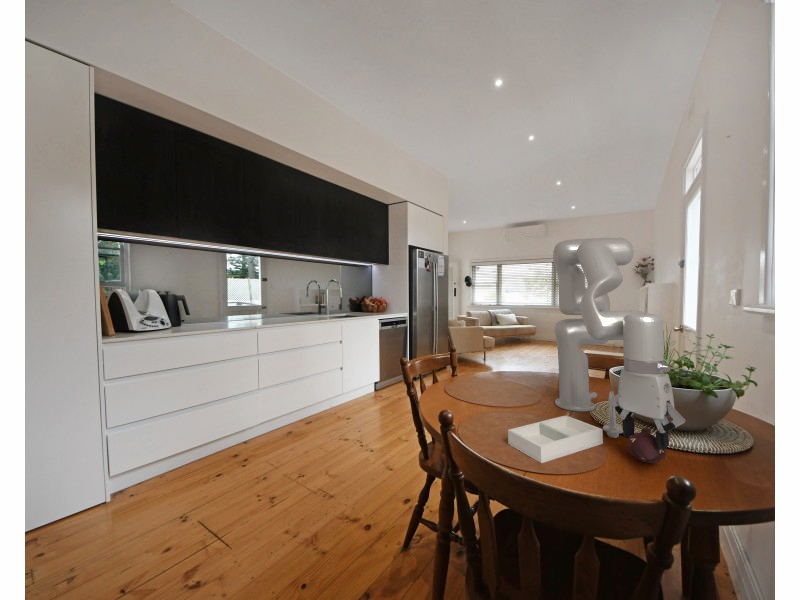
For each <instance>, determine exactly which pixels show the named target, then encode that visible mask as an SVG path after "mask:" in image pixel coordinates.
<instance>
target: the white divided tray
mask: <svg viewBox="0 0 800 600" xmlns="http://www.w3.org/2000/svg"><path fill="white" fill-rule="evenodd" d="M603 431H604V430H603V428H600V427H597V426H595V425H592V424H590V423H588V422H584V421H582V420H579V419H577V418H574V417H571V416H569V415H562V416H558V417H553V418H548V419H546V420H541V421H538V422H537V421H536V422H534V423H529V424H526V425H525V424H524V425H522V426H518V427H514V428H510V429H507V440H508V441H507V442H508V443H507V444H508V445H509V444H510V445H509V446H510V447H513V448H515V449H516V450H518V451H519V450H520V451H519V452H522V453H523V454H524V455H526V456H528V457H530V458H532V459H533V460H535V461H537V462H538V463H540V464H544V463H547V462H551V461H553V460H557V459H559V458H562V457H566V456H569V455H572V454H575V453H577V452H581V451H584V450H588V449H590V448H594V447H597V446H600V445H603V444H604V441H603V440H604V438H603V437H604V436H603Z"/></svg>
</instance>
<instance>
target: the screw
mask: <svg viewBox="0 0 800 600" xmlns="http://www.w3.org/2000/svg"><path fill="white" fill-rule="evenodd" d="M614 396H615V394H614V391H613V390H611V391H609V394H608V401H607V404H608V405H607V406H608V407H607V410H608V424H605V425H603V426H602V431H605V432H606V436H608V437H609V438H613V439H617V438H619V437H620V436H619V434H622V433H623V428H622V427H620V426H618V425H617V417H616V416H617V415H616V414H617V411H616V410H615V407H614V406H613V405H612V403H611V402H610V399H611V398H612V397H614Z"/></svg>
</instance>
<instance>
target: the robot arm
mask: <svg viewBox="0 0 800 600" xmlns="http://www.w3.org/2000/svg"><path fill="white" fill-rule="evenodd" d="M552 253H553V254H552V259H553V265H554V268H555V270H556V273H557V279H558V287H557V288H558V309H559V311H560V313H562V314H564V315H567V316H581V318H565V319H561V320H559V321H557V322H556V323H555V325H554V331H553V332H554V335H555V341H556V347H557V360H558V387H559V391H558V392H559V398H556V399H555V401H554V404H555V405H556V407H558V408H560V409H563V410H567V411H571V412H590V411H594V409H595V408H596V407H595V404H594V403H593V402H592V400H593V399H595V398H597V397H598V393H596V392H594V391H593V392H590V379H589V376H590V375H589V359H588V355H587V354H586V352H584V350H583V349H582V348H581V346H597V345H600V346H601V345H604V344H606V343H608V341H623V368H622V369H621V370H620V374H619V379H618V386H617V387H618V389H617V394H614V397H612V398H611V399H610V402H611V403H612V405H613V406H614V407H615V411H616V413H617V414H618V415H619V418H620V419H621V420H622V430H623V432H622V433H623V436H624V437H625V438H629V437H630V436H632V435H634V434H635V419H634V418H632V417H633V415H634V414H637V415H640V416H642V417H646V418H649V419H652V420H653V422H654V423H655V426H656V429H657V430H656V431H655V437H656V448H657V449H659V450H661V449H664V448H665V449H666V448H668V446H669V444H670V433H669V432H671V431H672V430H674V429H676V428H677V427H679V426H681V425H683V424H685V423H686V419H685V417H683V416H682V415H681V413H680V412H679V411H678V410H676V408H675V399H674V391H673V387H672V383H671V379H670V376H669V374H667V373H669V372H670V371H671V366H670V365H666V363H665V360H664V359H665V358H664V354H665V352H664V322H663V321H664V320H663V318H662V316H660V315H658V314H655V313H646V312H643V311H642V310H611V301H610V296H609V295H608V293H611V292H613V291H614V290H616V289H618V288H619V287H620V286H621V285H622V283H623V281H624V276H623V274H622V272H621V270H620V268H619V266H626V265H628V264H629V263H631V262H632V260H633V258H634V254H635V253H634V246H633V245H632V243H631V242H630V240H628V239H627V238H624V237H595V238H592V237H591V238H575V239H573V238H572V239H565V240H562V241H559V242H557V244H555V246H554V249H553V251H552ZM578 265H580V266H578ZM586 283H587V284H588V286H587V287H586ZM666 372H667V373H666ZM668 418H672V420H671V421H670V422H669V420H668Z"/></svg>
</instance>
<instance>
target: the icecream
mask: <svg viewBox="0 0 800 600" xmlns="http://www.w3.org/2000/svg"><path fill="white" fill-rule="evenodd" d="M626 445H627V447H628V451H629V453H630V455H632V456H633V457H634V458H636V459H637V460H639V461H640V462H643V463H647V464H657V463H659V462H660V461H662V460H664V459H665V457H666V456H667V451H666V448H664V449H661V450H659V449H657V448H656V435H654V434H652V430H651V429H650V428H648V427H642V429H640V432H634V435H631V436H628V437H627V441H626Z"/></svg>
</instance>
